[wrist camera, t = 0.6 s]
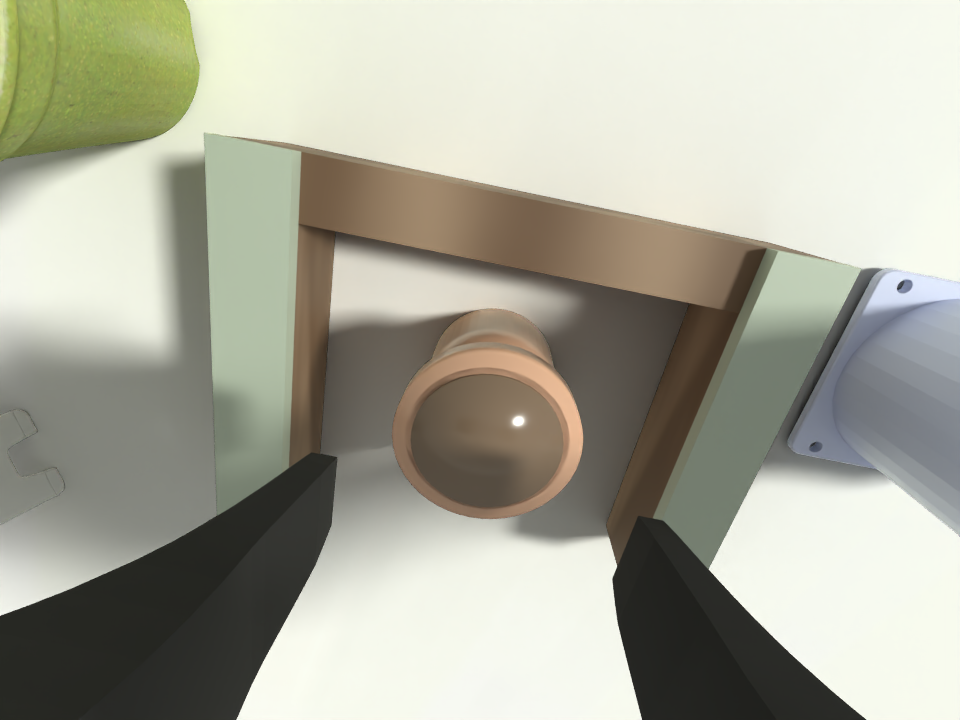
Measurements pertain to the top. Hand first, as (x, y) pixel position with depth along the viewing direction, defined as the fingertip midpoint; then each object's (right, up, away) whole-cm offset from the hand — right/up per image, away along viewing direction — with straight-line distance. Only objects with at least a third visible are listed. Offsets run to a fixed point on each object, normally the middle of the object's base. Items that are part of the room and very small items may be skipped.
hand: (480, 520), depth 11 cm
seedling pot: (+1, +3, +9) cm, 9 cm away
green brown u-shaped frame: (0, +3, +9) cm, 9 cm away
